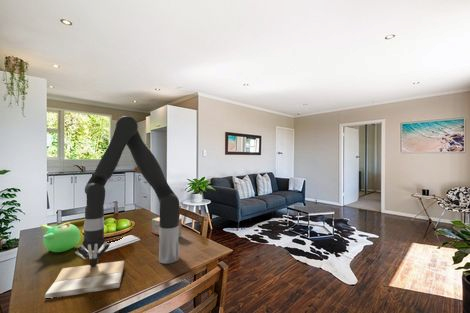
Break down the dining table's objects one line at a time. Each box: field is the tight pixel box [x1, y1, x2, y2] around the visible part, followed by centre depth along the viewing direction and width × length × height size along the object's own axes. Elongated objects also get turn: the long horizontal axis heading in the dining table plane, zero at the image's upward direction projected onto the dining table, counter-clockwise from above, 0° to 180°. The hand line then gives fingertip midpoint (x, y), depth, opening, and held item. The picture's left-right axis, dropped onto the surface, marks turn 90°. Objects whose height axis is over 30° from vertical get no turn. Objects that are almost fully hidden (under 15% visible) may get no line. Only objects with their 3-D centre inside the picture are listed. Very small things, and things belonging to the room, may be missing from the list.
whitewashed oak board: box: [44, 272, 123, 299], centre depth 89 cm, size 24×8×2 cm, turn 110°
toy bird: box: [39, 222, 81, 253], centre depth 121 cm, size 18×17×15 cm
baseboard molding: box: [74, 234, 141, 260], centre depth 127 cm, size 31×3×12 cm
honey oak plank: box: [54, 260, 125, 282], centre depth 97 cm, size 24×8×2 cm, turn 110°
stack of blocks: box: [151, 216, 183, 239], centre depth 147 cm, size 21×6×12 cm, turn 59°
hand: (93, 265), depth 100 cm, fingers closed
